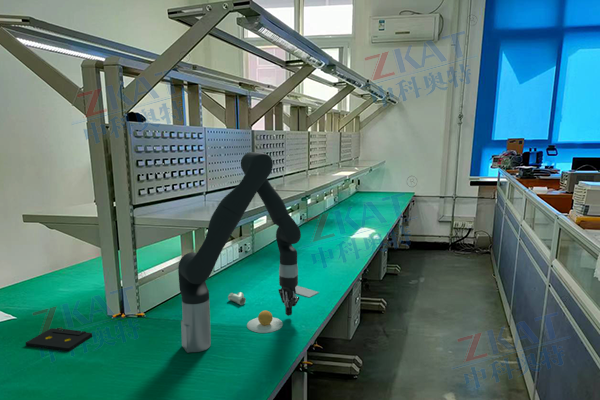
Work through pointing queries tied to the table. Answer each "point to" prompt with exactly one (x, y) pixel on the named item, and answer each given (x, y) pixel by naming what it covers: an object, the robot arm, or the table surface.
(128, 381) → the table surface
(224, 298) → the table surface
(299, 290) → the smartphone
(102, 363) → the table surface
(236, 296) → the pipe fitting
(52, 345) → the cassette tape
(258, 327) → the disc
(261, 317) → the ball
